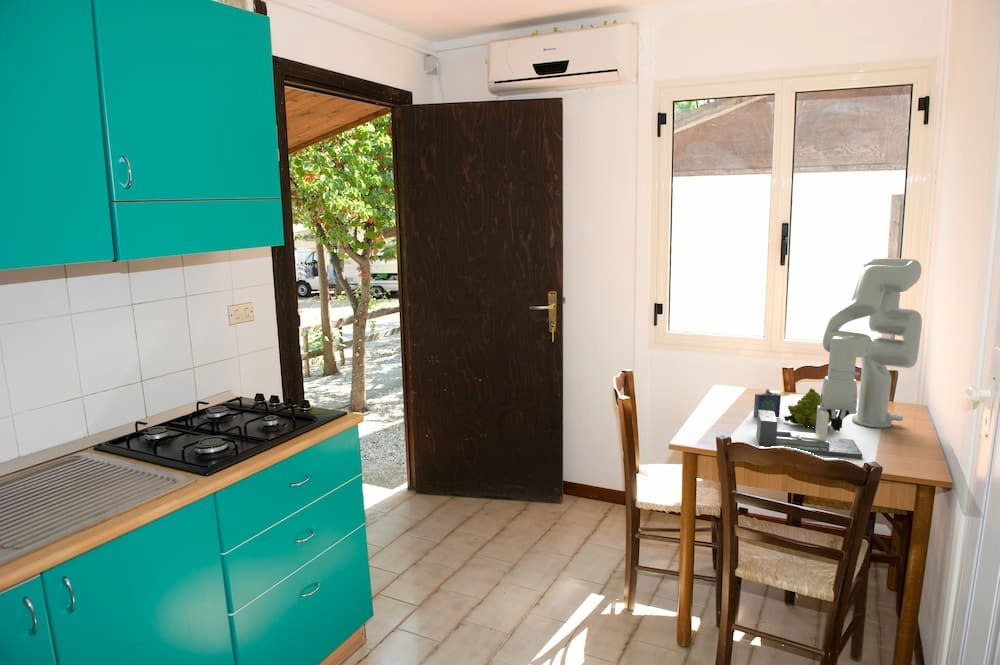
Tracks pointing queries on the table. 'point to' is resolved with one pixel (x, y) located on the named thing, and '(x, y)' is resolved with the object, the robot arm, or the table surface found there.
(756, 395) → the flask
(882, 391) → the robot arm
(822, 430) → the white block
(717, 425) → the table surface
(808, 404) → the vegetable
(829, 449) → the base
